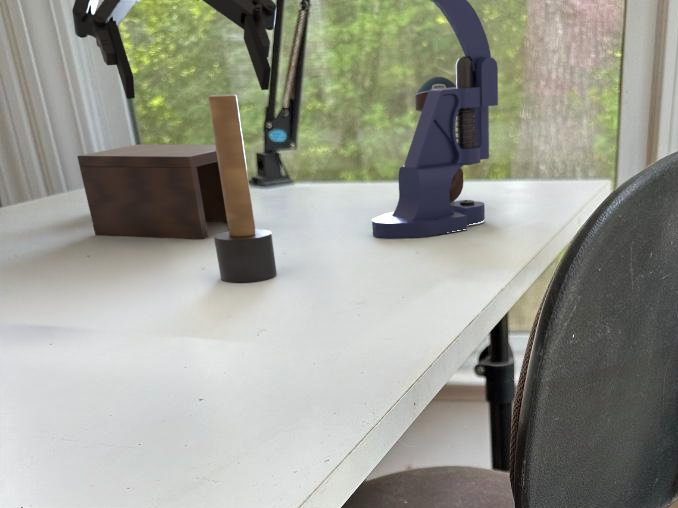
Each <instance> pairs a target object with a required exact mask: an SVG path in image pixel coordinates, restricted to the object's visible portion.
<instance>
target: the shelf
mask: <svg viewBox="0 0 678 508" xmlns="http://www.w3.org/2000/svg"><path fill="white" fill-rule="evenodd" d="M76 157H77V161H78V165H79V170H80V175H81V178H82V179H81V180H82V183H83V187H84V192H85V196H86V201H87V205H88V209H89V213H90V218H91V222H92V226H93V231H94V234H95V236H97V235H98V236H116V237H117V236H119V237H120V236H121V237H141V238H142V237H143V238H145V237H146V238H165V237H174V238H173V239H189V238H190V239H192V240H193V239H195V240H205V239H207V238H209V234H208V227H207V222H217V223H219V222H223V223H227V217H226V211H225V204H224V198H223V191H222V185H221V179H220V172H219V166H218V159H217V153H216V147H215V144H170V143H169V144H165V143H164V144H157V143H155V144H154V143H153V144H150V143H149V144H147V143H145V144H142V143H141V144H140V143H139V144H133V145H132V144H131V145H129V146H122V147H117V148H116V147H115V148H111V149H107V150H100V151H95V152H90V153H84V154H79V155H77V156H76ZM206 237H207V238H206Z"/></svg>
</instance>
